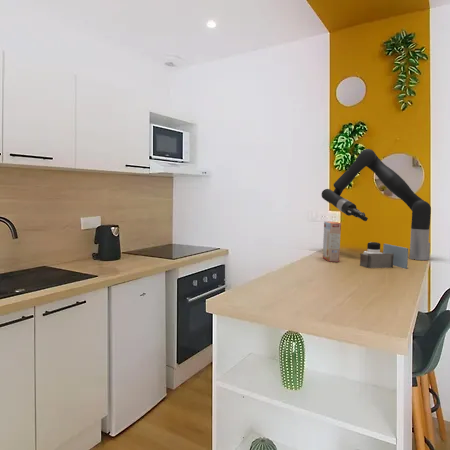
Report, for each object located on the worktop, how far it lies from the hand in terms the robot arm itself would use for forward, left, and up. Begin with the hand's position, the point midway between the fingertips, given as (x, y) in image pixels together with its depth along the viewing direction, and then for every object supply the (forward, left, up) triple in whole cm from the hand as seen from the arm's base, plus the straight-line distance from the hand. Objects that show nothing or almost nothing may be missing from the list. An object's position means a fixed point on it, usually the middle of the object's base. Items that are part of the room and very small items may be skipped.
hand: (366, 219), depth 207 cm
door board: (-6, +17, -22) cm, 29 cm away
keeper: (+5, +19, -22) cm, 30 cm away
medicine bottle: (+6, +17, -23) cm, 29 cm away
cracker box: (+19, -2, -23) cm, 30 cm away
